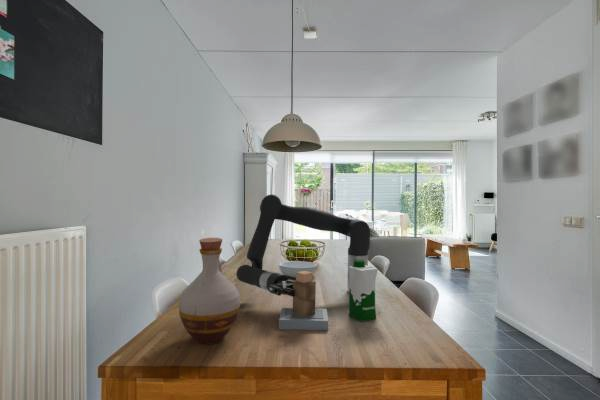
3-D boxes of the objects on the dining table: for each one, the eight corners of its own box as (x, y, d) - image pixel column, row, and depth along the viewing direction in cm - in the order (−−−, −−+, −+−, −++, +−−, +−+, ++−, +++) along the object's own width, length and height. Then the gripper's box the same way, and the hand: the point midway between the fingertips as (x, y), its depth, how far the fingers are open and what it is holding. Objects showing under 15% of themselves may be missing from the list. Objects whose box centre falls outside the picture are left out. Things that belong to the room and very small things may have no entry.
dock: (326, 317, 118) (326, 308, 118) (328, 330, 106) (328, 320, 106) (282, 316, 119) (282, 307, 119) (278, 328, 107) (279, 319, 107)
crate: (304, 309, 116) (304, 278, 116) (315, 313, 112) (315, 281, 112) (292, 313, 113) (292, 280, 113) (303, 317, 109) (304, 284, 109)
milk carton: (364, 311, 125) (364, 258, 125) (380, 319, 117) (380, 262, 117) (345, 314, 121) (345, 260, 121) (360, 323, 113) (361, 264, 113)
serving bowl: (317, 281, 172) (317, 268, 172) (277, 280, 172) (277, 267, 172) (315, 272, 193) (316, 260, 193) (280, 272, 193) (280, 260, 193)
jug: (193, 324, 109) (194, 234, 110) (246, 325, 109) (247, 235, 109) (167, 351, 90) (168, 242, 90) (232, 353, 89) (233, 243, 89)
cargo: (304, 279, 115) (304, 270, 115) (312, 281, 112) (312, 272, 112) (296, 281, 113) (296, 272, 113) (304, 283, 110) (304, 274, 110)
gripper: (258, 275, 120) (287, 283, 108) (288, 269, 130) (317, 277, 118) (258, 295, 120) (287, 306, 108) (287, 288, 129) (317, 298, 118)
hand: (303, 291), depth 113 cm, fingers open, 8 cm apart
